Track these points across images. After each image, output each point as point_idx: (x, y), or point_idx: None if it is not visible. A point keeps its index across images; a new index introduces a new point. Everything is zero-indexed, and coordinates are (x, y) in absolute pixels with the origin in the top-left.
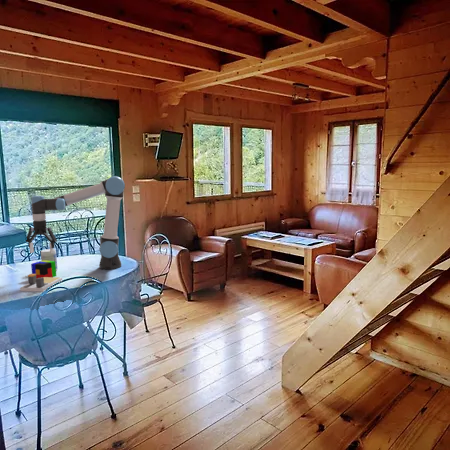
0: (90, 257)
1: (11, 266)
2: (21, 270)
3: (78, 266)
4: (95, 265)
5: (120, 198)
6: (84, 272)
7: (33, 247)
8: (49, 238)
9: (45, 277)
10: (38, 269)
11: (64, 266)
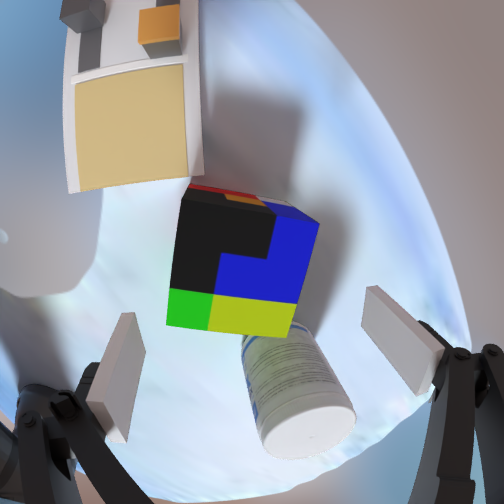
0: (231, 487)
1: None
2: None
3: (188, 420)
4: None
5: None
6: (82, 348)
7: (384, 355)
8: (87, 476)
9: (168, 173)
10: (236, 201)
11: None
